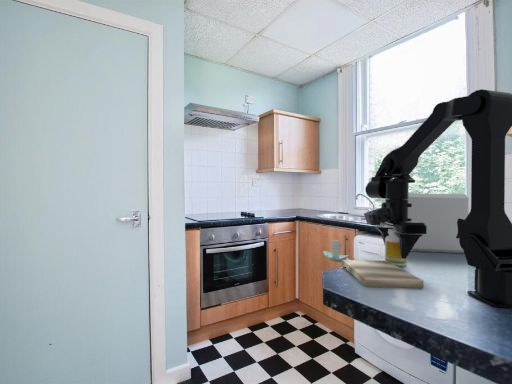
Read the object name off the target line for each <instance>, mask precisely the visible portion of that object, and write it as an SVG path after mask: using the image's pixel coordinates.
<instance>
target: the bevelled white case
mask: <svg viewBox="0 0 512 384" xmlns="http://www.w3.org/2000/svg"><path fill="white" fill-rule="evenodd" d="M469 199H470V197H468V196H467V194H466V193H465V194H461V193H457V194H456V193H414V192H413V193H411V192H410V193H409V192H408V199H405V200H408V203H412V207H408V218H411V221H417V222H422V223H424V224H425V225H426V226H427V234H423V236H422V237H420V238H419V239H418V241H417V242H416V243H415V245H414V246H413V248H412V250H411V251H410V252H423V251H425V252H427V253H449V254H464V251H463V249H462V248H461V246H460V243H459V238H458V239H457V238H456V236H457V234H458V226H457V221H458V219H459V218H466V217H467V216H468V214H469V213H470V211H469V210H470V209H469V207H470V206H469V202H470V200H469ZM416 250H418V251H416Z"/></svg>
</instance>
